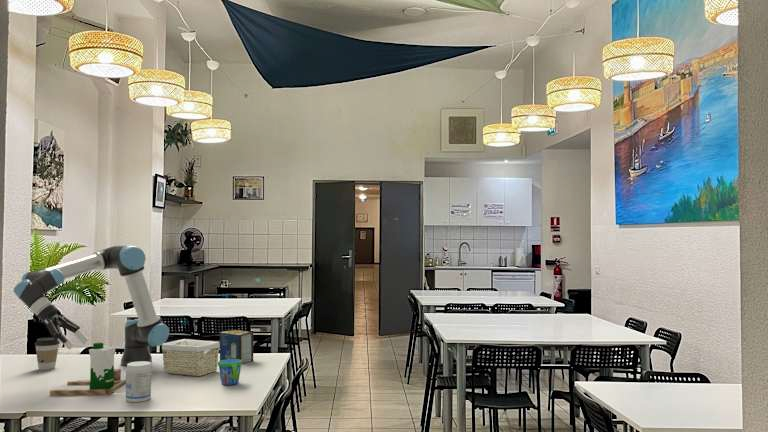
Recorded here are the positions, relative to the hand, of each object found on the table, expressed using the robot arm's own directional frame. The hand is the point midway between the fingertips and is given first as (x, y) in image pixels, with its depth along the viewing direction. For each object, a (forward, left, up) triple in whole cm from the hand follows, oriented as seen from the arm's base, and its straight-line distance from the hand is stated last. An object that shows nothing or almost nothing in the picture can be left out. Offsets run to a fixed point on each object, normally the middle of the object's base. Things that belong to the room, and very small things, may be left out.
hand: (79, 344), depth 264 cm
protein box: (-78, -28, -20) cm, 85 cm away
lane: (-3, +1, -20) cm, 20 cm away
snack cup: (-60, +21, -20) cm, 66 cm away
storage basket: (-50, -12, -20) cm, 55 cm away
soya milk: (-9, +4, -20) cm, 22 cm away
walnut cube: (-14, -7, -19) cm, 25 cm away
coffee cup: (+10, -58, -20) cm, 62 cm away
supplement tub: (-20, +29, -20) cm, 40 cm away
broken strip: (-9, -10, -20) cm, 24 cm away
